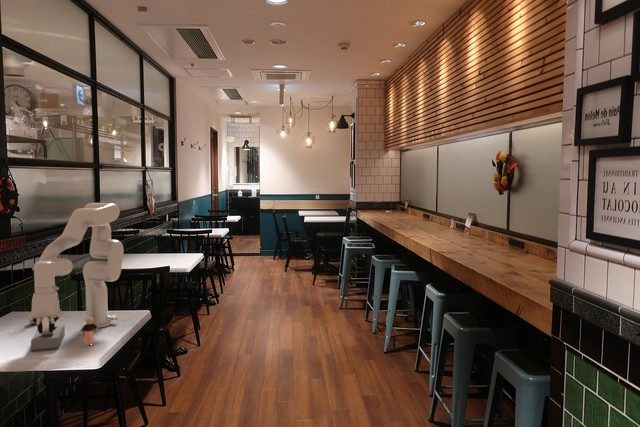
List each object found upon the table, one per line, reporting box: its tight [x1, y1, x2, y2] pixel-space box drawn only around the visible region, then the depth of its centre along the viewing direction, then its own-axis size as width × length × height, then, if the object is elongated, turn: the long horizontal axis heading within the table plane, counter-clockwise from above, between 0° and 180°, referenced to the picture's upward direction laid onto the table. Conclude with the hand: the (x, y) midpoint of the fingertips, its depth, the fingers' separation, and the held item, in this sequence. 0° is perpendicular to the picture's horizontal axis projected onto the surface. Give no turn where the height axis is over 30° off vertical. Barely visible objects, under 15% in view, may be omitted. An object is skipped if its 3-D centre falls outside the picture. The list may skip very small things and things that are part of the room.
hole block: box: [30, 324, 66, 353], centre depth 215 cm, size 10×20×5 cm, turn 21°
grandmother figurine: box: [79, 316, 100, 347], centre depth 213 cm, size 8×4×13 cm, turn 148°
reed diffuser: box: [23, 283, 37, 325], centre depth 242 cm, size 10×7×20 cm
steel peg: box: [41, 317, 51, 337], centre depth 210 cm, size 4×4×12 cm
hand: (46, 332), depth 210 cm, fingers closed on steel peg, 3 cm apart
